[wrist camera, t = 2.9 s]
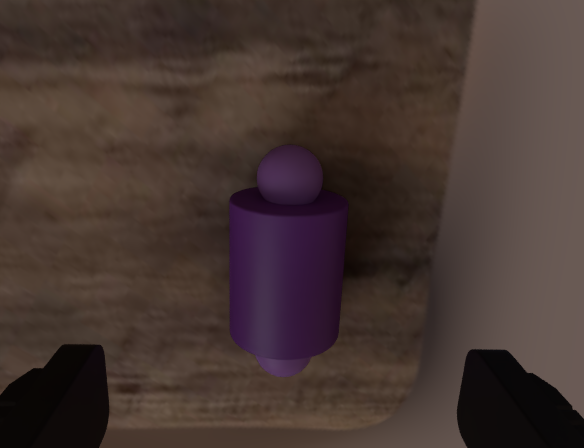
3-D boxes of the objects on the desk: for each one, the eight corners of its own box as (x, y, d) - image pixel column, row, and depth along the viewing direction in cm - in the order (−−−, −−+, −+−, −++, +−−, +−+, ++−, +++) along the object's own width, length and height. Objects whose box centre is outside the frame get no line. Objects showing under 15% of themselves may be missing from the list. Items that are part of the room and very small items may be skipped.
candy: (234, 135, 17) (223, 152, 13) (343, 139, 17) (363, 157, 13) (234, 341, 20) (224, 406, 16) (328, 343, 20) (342, 407, 16)
